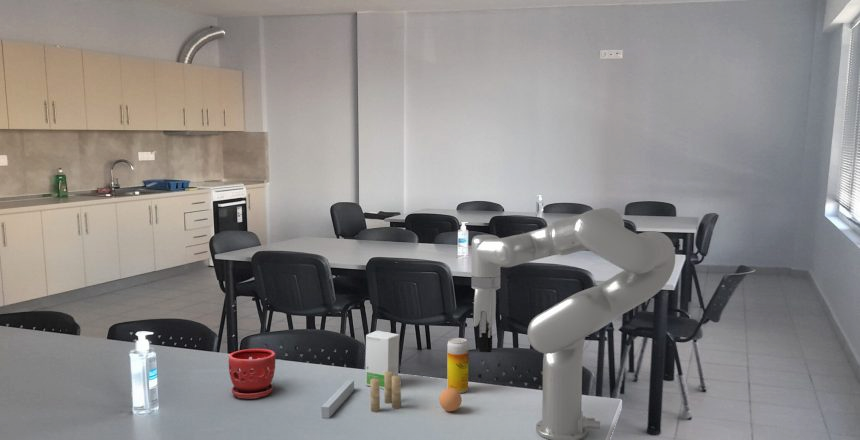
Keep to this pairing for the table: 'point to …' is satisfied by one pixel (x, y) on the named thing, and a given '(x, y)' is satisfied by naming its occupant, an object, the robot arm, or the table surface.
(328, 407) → the back rail
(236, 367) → the plant pot
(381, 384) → the skincare box
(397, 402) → the front pin
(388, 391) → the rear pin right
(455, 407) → the ball
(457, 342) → the yellow canister
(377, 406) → the rear pin left
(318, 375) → the table surface
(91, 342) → the table surface
